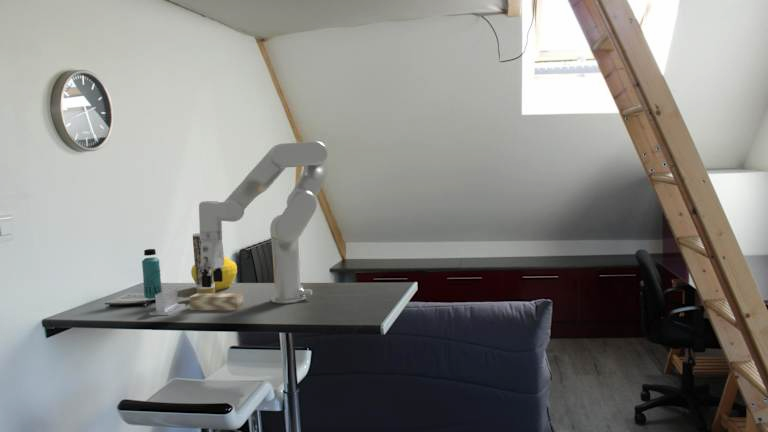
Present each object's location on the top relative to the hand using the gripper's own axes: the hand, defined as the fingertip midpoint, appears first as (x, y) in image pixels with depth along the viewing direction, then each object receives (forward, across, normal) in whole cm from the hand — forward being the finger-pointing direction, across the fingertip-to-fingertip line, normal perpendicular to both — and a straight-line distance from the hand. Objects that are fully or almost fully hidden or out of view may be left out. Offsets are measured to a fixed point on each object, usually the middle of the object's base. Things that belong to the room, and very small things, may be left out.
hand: (212, 284), depth 208 cm
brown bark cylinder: (+9, +17, +10) cm, 21 cm away
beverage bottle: (+10, +14, +30) cm, 34 cm away
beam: (+9, +1, -1) cm, 9 cm away
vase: (+9, +35, +14) cm, 38 cm away
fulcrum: (+9, -2, +16) cm, 19 cm away
